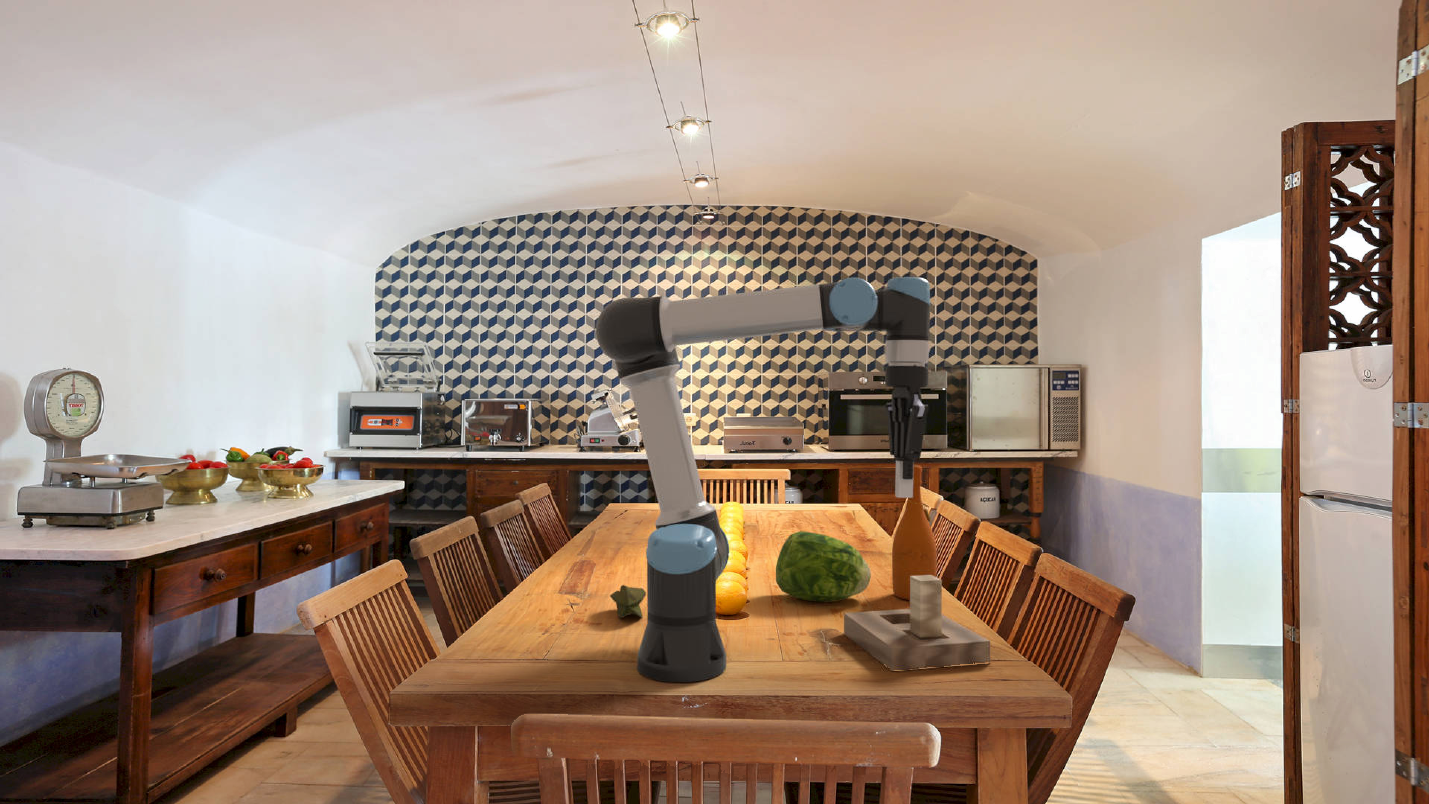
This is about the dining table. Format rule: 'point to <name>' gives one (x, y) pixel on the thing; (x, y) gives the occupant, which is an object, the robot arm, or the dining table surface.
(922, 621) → the peg
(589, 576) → the dining table surface
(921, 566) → the wine bottle
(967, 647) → the board
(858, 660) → the dining table surface
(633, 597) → the fruit
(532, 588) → the dining table surface
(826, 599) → the lettuce
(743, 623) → the dining table surface
